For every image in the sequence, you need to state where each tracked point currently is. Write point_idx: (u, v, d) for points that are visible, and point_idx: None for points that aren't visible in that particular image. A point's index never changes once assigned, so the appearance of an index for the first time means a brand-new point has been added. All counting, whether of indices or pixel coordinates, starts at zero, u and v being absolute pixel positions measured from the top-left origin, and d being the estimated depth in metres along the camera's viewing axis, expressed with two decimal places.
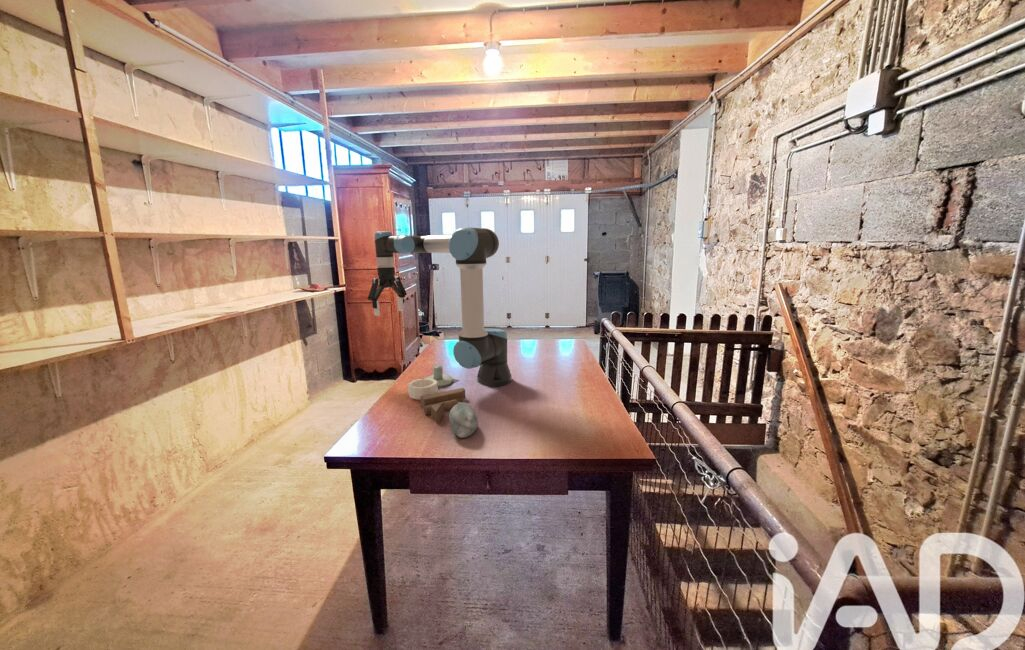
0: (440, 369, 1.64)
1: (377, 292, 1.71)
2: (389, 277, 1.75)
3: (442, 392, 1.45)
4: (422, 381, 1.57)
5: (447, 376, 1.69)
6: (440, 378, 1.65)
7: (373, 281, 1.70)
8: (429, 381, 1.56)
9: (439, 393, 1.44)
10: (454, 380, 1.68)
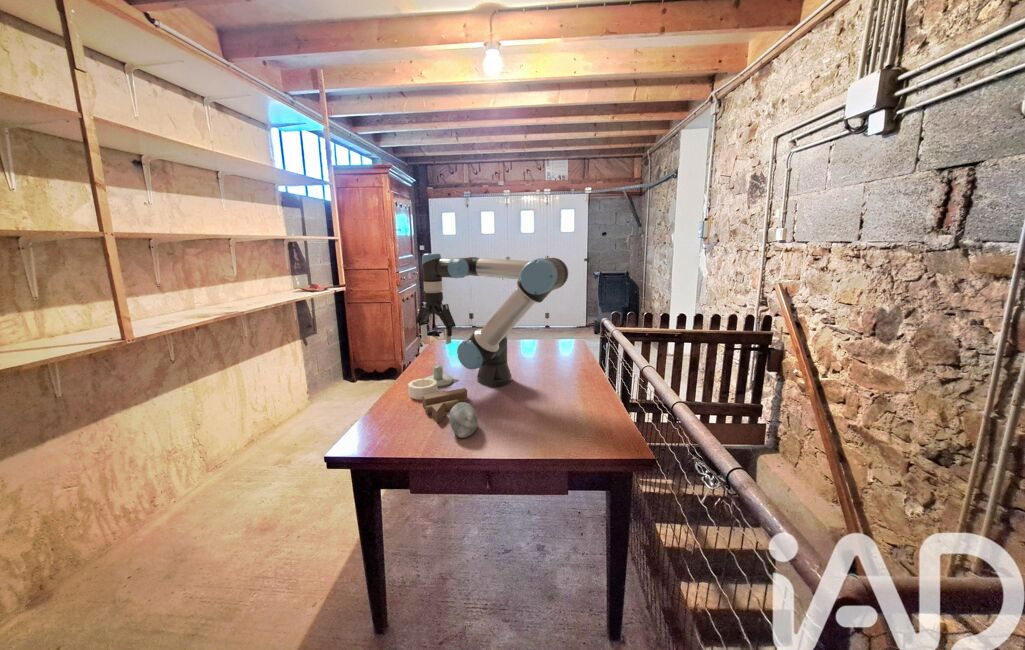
0: (440, 369, 1.64)
1: None
2: (433, 303, 1.58)
3: (444, 392, 1.45)
4: (422, 381, 1.57)
5: (447, 376, 1.69)
6: (440, 378, 1.65)
7: None
8: (429, 381, 1.56)
9: (441, 393, 1.44)
10: (454, 380, 1.68)
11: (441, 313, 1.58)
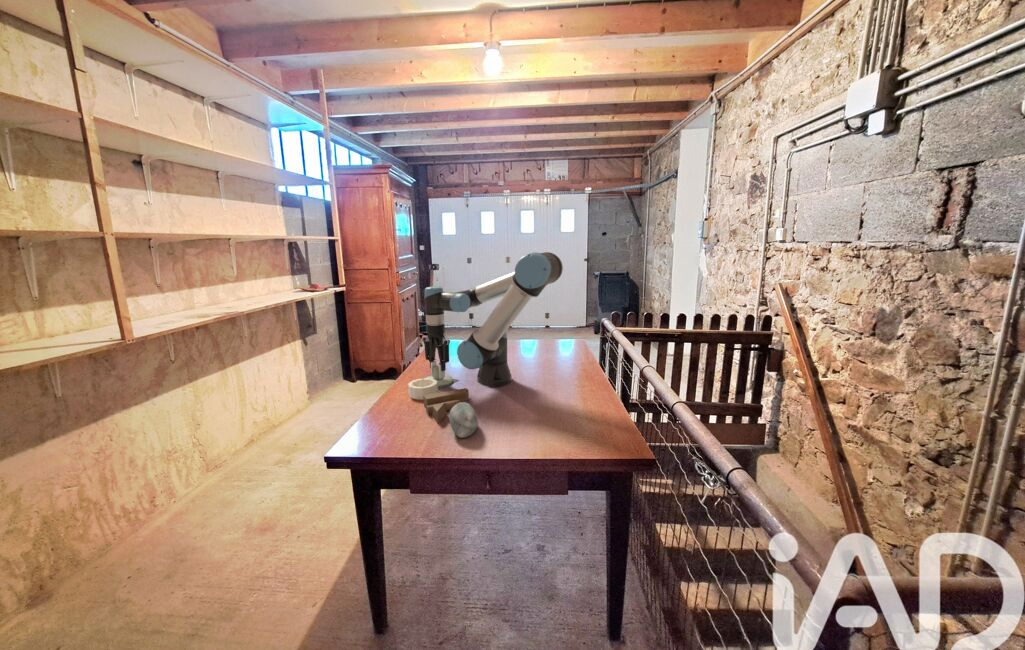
0: None
1: None
2: (435, 335, 1.61)
3: (445, 392, 1.45)
4: (422, 381, 1.57)
5: (447, 376, 1.69)
6: None
7: None
8: (429, 381, 1.56)
9: (442, 393, 1.44)
10: (454, 380, 1.68)
11: (440, 347, 1.62)
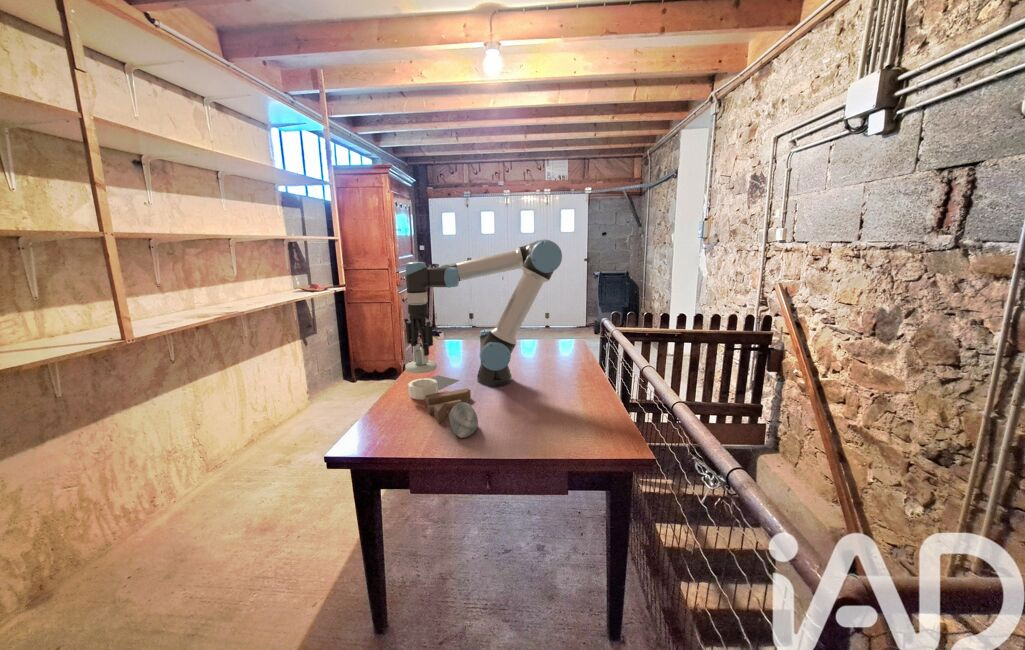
0: None
1: None
2: (417, 316, 1.46)
3: (447, 392, 1.45)
4: (422, 381, 1.57)
5: (431, 362, 1.54)
6: None
7: None
8: (429, 381, 1.56)
9: (444, 393, 1.44)
10: (454, 380, 1.68)
11: (423, 329, 1.47)
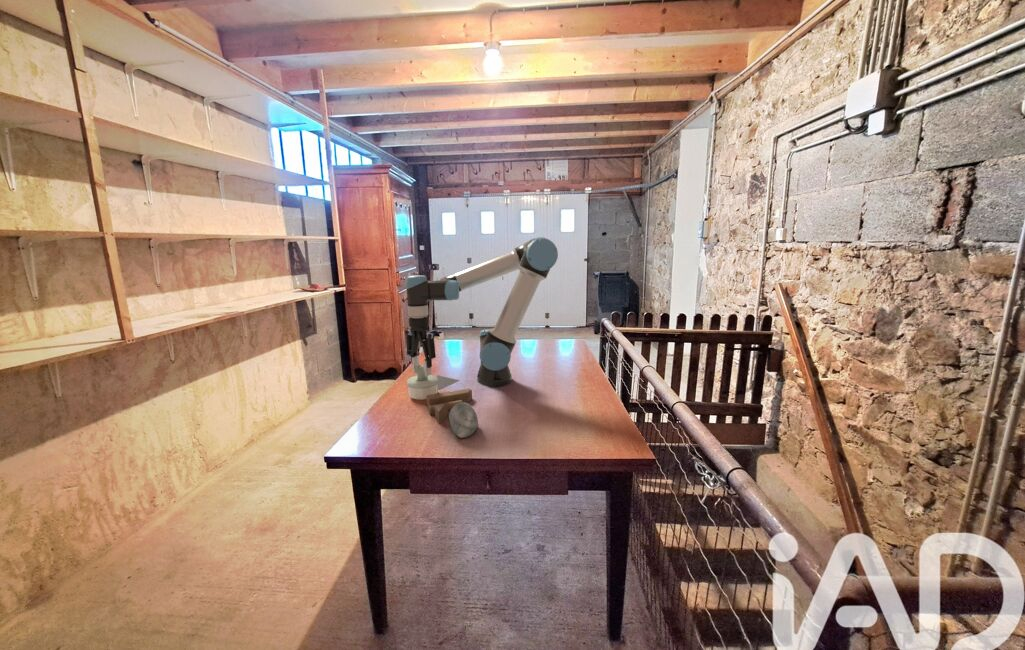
0: (424, 369, 1.50)
1: None
2: (418, 329, 1.47)
3: (448, 392, 1.45)
4: None
5: (432, 376, 1.55)
6: (424, 379, 1.51)
7: None
8: None
9: (445, 393, 1.44)
10: (454, 380, 1.68)
11: (425, 341, 1.48)
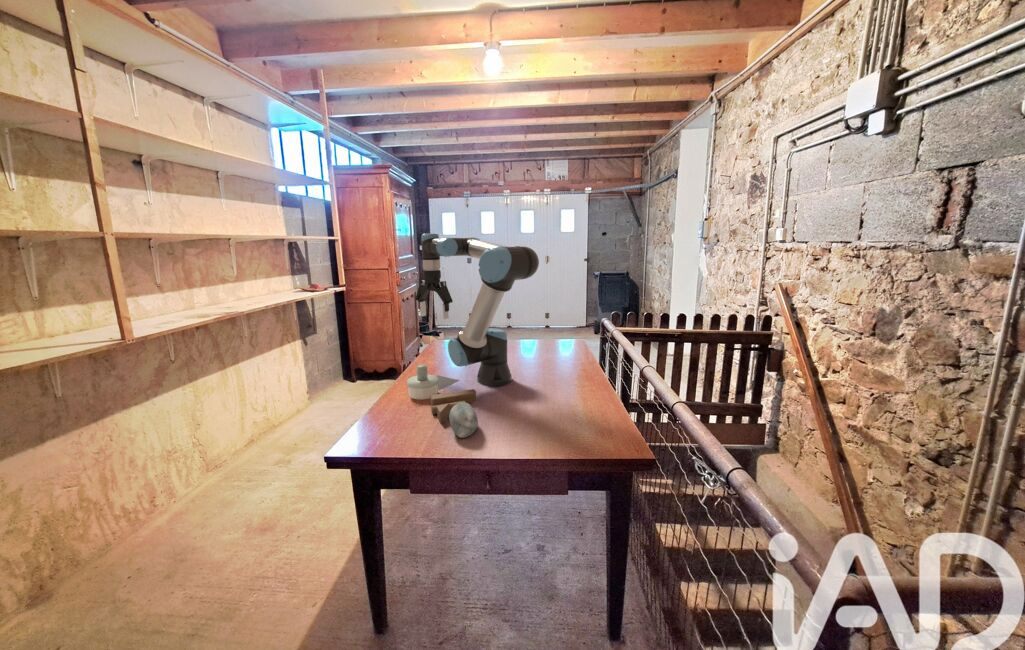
0: (424, 369, 1.50)
1: None
2: (431, 281, 1.69)
3: (452, 393, 1.44)
4: None
5: (432, 376, 1.55)
6: (424, 379, 1.51)
7: None
8: None
9: (449, 394, 1.44)
10: (454, 380, 1.68)
11: (439, 290, 1.69)
